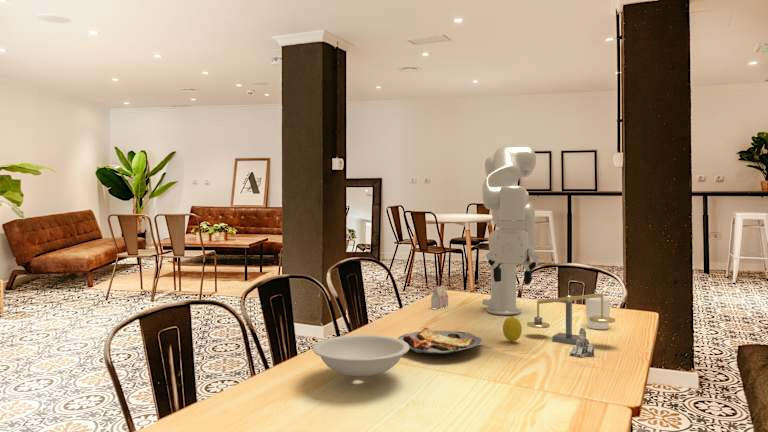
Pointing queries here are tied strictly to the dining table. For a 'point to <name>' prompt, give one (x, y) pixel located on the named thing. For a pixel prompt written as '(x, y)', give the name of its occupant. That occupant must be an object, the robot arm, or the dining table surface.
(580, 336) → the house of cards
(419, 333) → the food plate
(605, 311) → the white cup
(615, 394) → the dining table surface
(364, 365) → the soup bowl
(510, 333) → the lemon
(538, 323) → the balance
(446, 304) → the tea bag
